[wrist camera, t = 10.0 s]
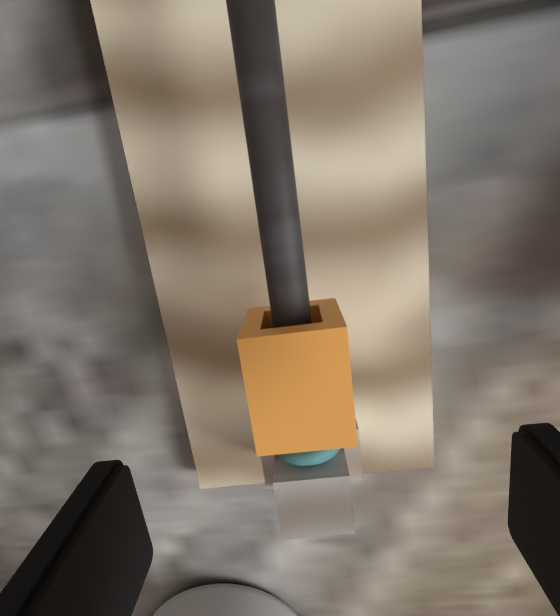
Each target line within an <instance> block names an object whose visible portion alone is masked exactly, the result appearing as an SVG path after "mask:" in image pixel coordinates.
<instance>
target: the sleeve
mask: <svg viewBox="0 0 560 616" xmlns="http://www.w3.org/2000/svg"><path fill="white" fill-rule="evenodd" d="M309 302H310V311H311V319H312V324H304V325H295V326H286V327H278V328H273V323H272V316H271V309H270V306H262V307H254V308H248V310H247V312H246V315H245V318H244V321H243V323H242V326H241V329H240V332H239V334H238V337H237V345H238V350H239V356H240V362H241V368H242V373H243V379H244V385H245V391H246V397H247V402H248V408H249V414H250V420H251V425H252V431H253V437H254V443H255V448H256V454H257V456H268V455H278V454H289V453H299V452H309V451H320V450H330V449H340V448H351V447H358V442H357V431H356V420H355V409H354V397H353V386H352V375H351V364H350V353H349V342H348V331H347V325H346V323H345V320H344V318H343V315H342V313H341V311H340V308H339V306H338V303H337V301H336V299H335V298H329V299H321V300H312V301H309Z"/></svg>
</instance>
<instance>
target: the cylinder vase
mask: <svg viewBox="0 0 560 616" xmlns="http://www.w3.org/2000/svg"><path fill="white" fill-rule="evenodd" d="M153 616H298V615H297V614H296V613H295V612H294V611H293V610H292V609H291V608H290V607H289V606H288V605H286V604H285V603H284V602H282V601H281V600H279V599H278V598H276V597H274V596H272V595H271V594H268V593H266V592H264V591H261V590H259V589H256V588H252V587H249V586H244V585H238V584H226V583H220V584H208V585H202V586H198V587H194V588H191V589H188V590H185V591H183V592H181V593H179V594H177V595H175V596H173V597H172V598H170V599H169V600H168V601H166V602H165V603H164V604H163V605H161V606H160V607H159V608H158V609H157V611H156V612H155V613H154V614H153Z"/></svg>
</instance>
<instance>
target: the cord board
mask: <svg viewBox="0 0 560 616" xmlns="http://www.w3.org/2000/svg"><path fill="white" fill-rule="evenodd" d="M90 1H91V6H92V10H93V15H94V19H95V23H96V28H97V32H98V37H99V41H100V46H101V50H102V55H103V59H104V63H105V68H106V72H107V77H108V81H109V86H110V90H111V94H112V99H113V103H114V108H115V112H116V117H117V121H118V125H119V130H120V134H121V139H122V143H123V148H124V152H125V157H126V161H127V165H128V170H129V174H130V179H131V183H132V188H133V192H134V196H135V201H136V205H137V210H138V214H139V219H140V223H141V227H142V232H143V236H144V241H145V245H146V250H147V254H148V259H149V263H150V267H151V272H152V276H153V281H154V285H155V290H156V294H157V298H158V303H159V307H160V312H161V316H162V321H163V325H164V330H165V334H166V338H167V343H168V347H169V352H170V356H171V361H172V365H173V369H174V374H175V378H176V383H177V387H178V392H179V396H180V400H181V405H182V409H183V414H184V418H185V423H186V427H187V432H188V436H189V440H190V445H191V449H192V454H193V458H194V463H195V467H196V471H197V476H198V480H199V485H200V489H203V488H214V487H225V486H236V485H246V484H257V483H265V485H266V489H274V493H275V499H276V505H277V511H278V517H279V523H280V529H281V535H282V540H285V539H297V538H309V537H321V536H333V535H345V534H355V525H354V514H353V504H352V494H351V484H350V481H361V480H363V474H366V473H376V472H387V471H398V470H409V469H420V468H431V467H434V438H433V402H432V366H431V331H430V295H429V259H428V224H427V188H426V152H425V116H424V81H423V45H422V9H421V0H90ZM329 298H335V299H336V301H337V303H338V306H339V308H340V311H341V313H342V315H343V318H344V320H345V323H346V325H347V331H348V342H349V353H350V364H351V375H352V386H353V397H354V409H355V420H356V431H357V442H358V447H351V448H340V449H330V450H320V451H309V452H299V453H289V454H278V455H268V456H257V454H256V448H255V443H254V437H253V431H252V425H251V420H250V414H249V408H248V402H247V397H246V391H245V385H244V379H243V373H242V368H241V362H240V356H239V350H238V345H237V337H238V334H239V332H240V329H241V326H242V323H243V321H244V318H245V315H246V312H247V310H248V308H254V307H262V306H270V309H271V316H272V323H273V328H278V327H286V326H295V325H304V324H312V319H311V311H310V302H309V301H312V300H321V299H329Z"/></svg>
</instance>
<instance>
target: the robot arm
mask: <svg viewBox="0 0 560 616" xmlns="http://www.w3.org/2000/svg"><path fill="white" fill-rule="evenodd" d="M508 527H509V531H510V534H511V536H512V539H513V540H514V542H515V544H516V546H517V547H518V549H519V551H520V552H521V554H522V556H523V557H524V559H525V561H526V562H527V564H528V566H529V567H530V569H531V571H532V572H533V574H534V576H535V577H536V579H537V581H538V582H539V584H540V586H541V587H542V589H543V591H544V592H545V594H546V596H547V597H548V599H549V601H550V602H551V604H552V606H553V607H554V609H555V610H556V612H557V614H558V615H559V616H560V432H559V431H558V430H557V429H556V428H555V427H554V426H553V425H551V424H550V423H539V424H527V425H522V426H520V428H519V432H514V433H513V435H512V446H511V467H510V487H509V508H508ZM152 557H153V547H152V543H151V539H150V536H149V533H148V529H147V526H146V522H145V519H144V516H143V512H142V509H141V505H140V502H139V499H138V495H137V492H136V488H135V485H134V482H133V478H132V475H131V472H130V469H129V467H128V466H126V465H123V463H122V462H121V461H120V460H111V461H100V462H96V463H94V464H93V465H92V467H91V468H90V469H89V471H88V472H87V473H86V475H85V476H84V478H83V479H82V480H81V482H80V483H79V485H78V486H77V487H76V489H75V490H74V492H73V493H72V494H71V496H70V497H69V499H68V500H67V501H66V503H65V504H64V505H63V507H62V508H61V510H60V511H59V512H58V514H57V515H56V517H55V518H54V519H53V521H52V522H51V524H50V525H49V526H48V528H47V529H46V531H45V532H44V533H43V535H42V536H41V537H40V539H39V540H38V542H37V543H36V544H35V546H34V547H33V549H32V550H31V551H30V553H29V554H28V556H27V557H26V558H25V560H24V561H23V563H22V564H21V565H20V567H19V568H18V569H17V571H16V572H15V574H14V575H13V576H12V578H11V579H10V581H9V582H8V583H7V585H6V586H5V588H4V589H3V590H2V592H1V593H0V616H131V615H132V612H133V610H134V607H135V604H136V602H137V599H138V597H139V594H140V591H141V589H142V586H143V583H144V581H145V578H146V576H147V573H148V570H149V568H150V565H151V562H152Z"/></svg>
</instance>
